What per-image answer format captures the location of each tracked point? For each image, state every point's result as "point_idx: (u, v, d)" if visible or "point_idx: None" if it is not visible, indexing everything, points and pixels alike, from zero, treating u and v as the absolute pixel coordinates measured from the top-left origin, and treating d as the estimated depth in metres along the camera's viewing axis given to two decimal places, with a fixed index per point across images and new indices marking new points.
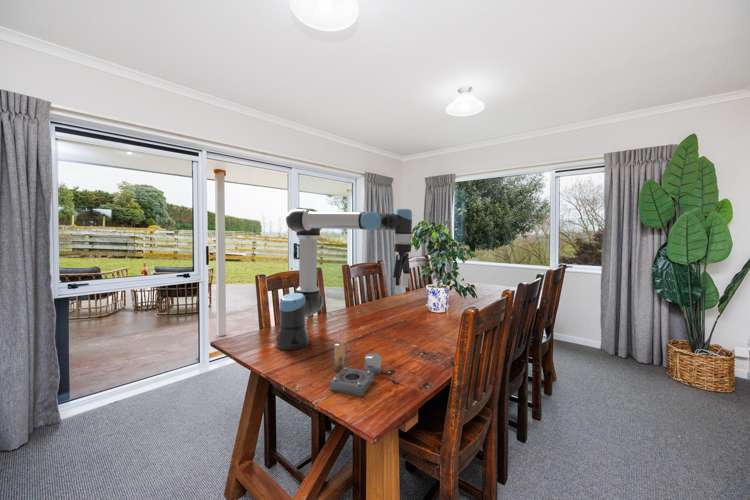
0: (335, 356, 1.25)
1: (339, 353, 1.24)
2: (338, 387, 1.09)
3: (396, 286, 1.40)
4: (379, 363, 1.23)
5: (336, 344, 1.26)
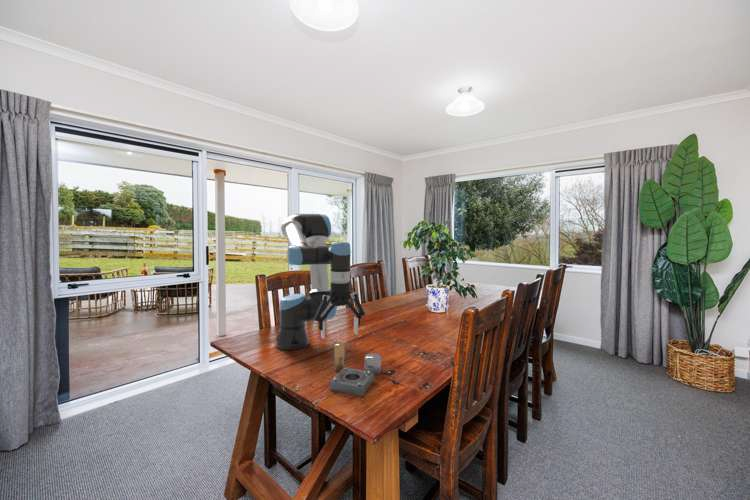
0: (335, 356, 1.25)
1: (339, 353, 1.24)
2: (338, 387, 1.09)
3: (321, 330, 1.23)
4: (379, 363, 1.23)
5: (336, 344, 1.26)
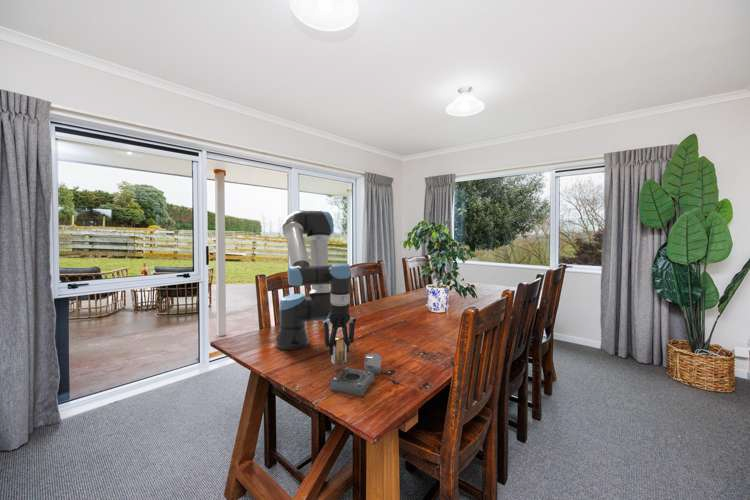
0: (335, 350, 1.25)
1: (338, 347, 1.25)
2: (338, 387, 1.09)
3: (331, 355, 1.26)
4: (379, 363, 1.23)
5: (336, 338, 1.26)
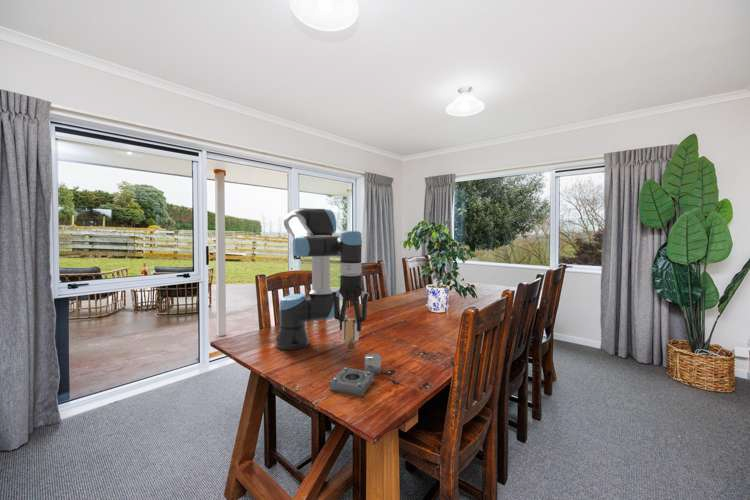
0: (345, 332, 1.15)
1: (346, 329, 1.13)
2: (338, 387, 1.09)
3: None
4: (379, 363, 1.23)
5: (347, 319, 1.15)
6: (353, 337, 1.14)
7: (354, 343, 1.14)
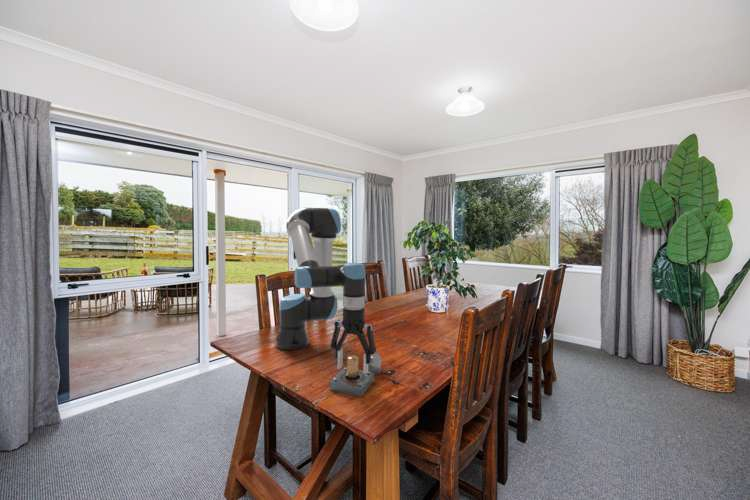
0: (347, 369, 1.14)
1: (348, 367, 1.12)
2: (338, 387, 1.09)
3: None
4: (379, 363, 1.23)
5: (349, 357, 1.14)
6: (355, 376, 1.12)
7: None
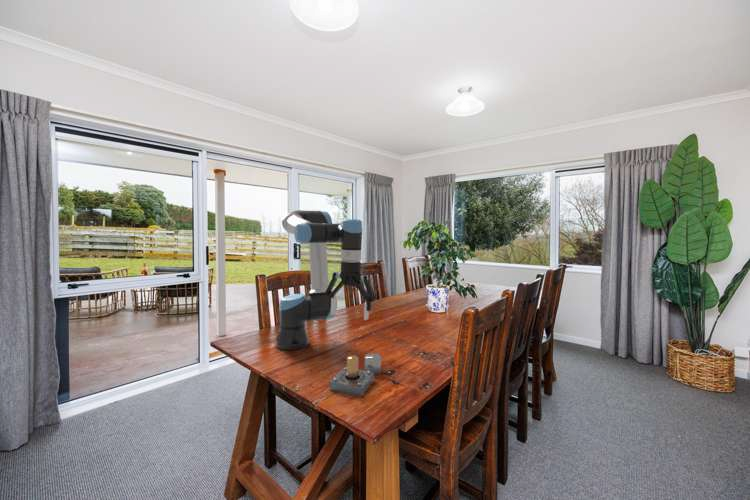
0: (347, 369, 1.14)
1: (348, 367, 1.12)
2: (338, 387, 1.09)
3: None
4: (379, 363, 1.23)
5: (349, 356, 1.14)
6: (355, 376, 1.12)
7: None
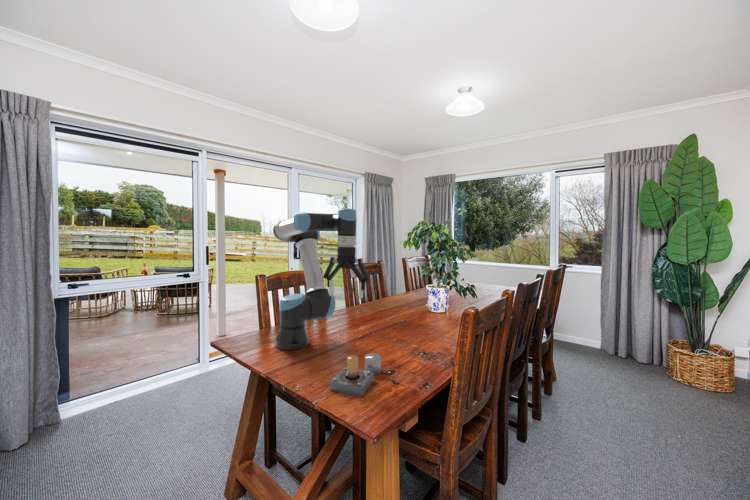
0: (347, 369, 1.14)
1: (348, 367, 1.12)
2: (338, 387, 1.09)
3: None
4: (379, 363, 1.23)
5: (349, 356, 1.14)
6: (355, 376, 1.12)
7: None
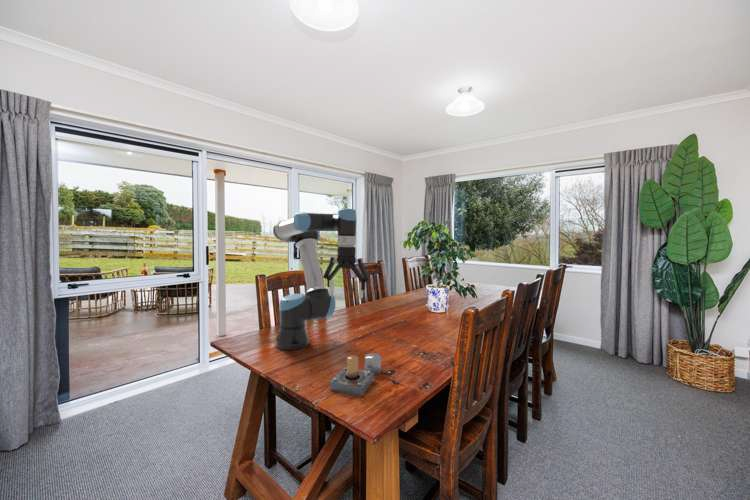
0: (347, 369, 1.14)
1: (348, 367, 1.12)
2: (338, 387, 1.09)
3: None
4: (379, 363, 1.23)
5: (349, 356, 1.14)
6: (355, 376, 1.12)
7: None
